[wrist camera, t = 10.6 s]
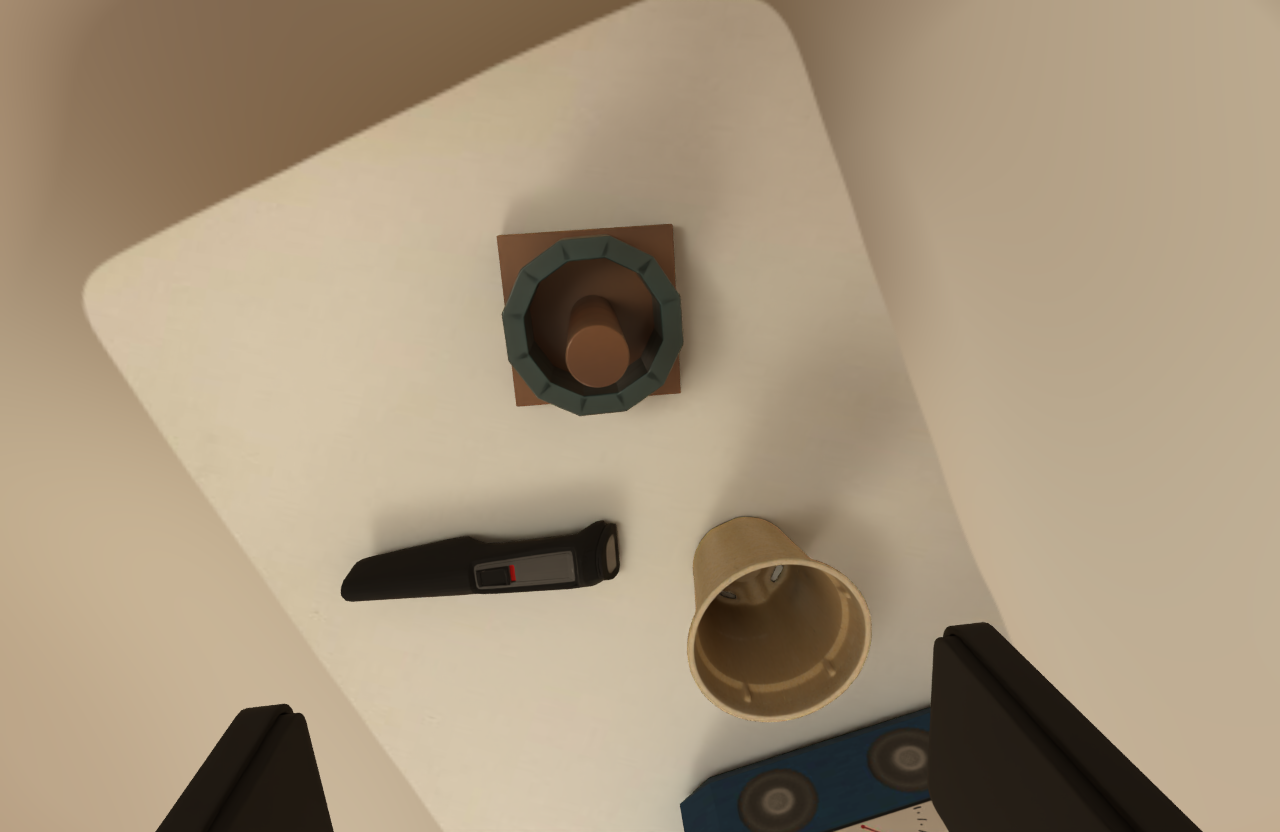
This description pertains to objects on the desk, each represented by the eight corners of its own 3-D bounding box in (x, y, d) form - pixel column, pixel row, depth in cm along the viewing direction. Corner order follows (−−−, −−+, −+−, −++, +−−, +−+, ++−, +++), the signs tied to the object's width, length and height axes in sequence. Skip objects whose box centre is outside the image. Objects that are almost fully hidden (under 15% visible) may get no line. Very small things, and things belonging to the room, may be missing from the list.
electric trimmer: (352, 538, 40) (332, 564, 37) (615, 514, 41) (617, 538, 38) (363, 595, 41) (345, 624, 38) (620, 570, 42) (622, 598, 39)
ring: (501, 243, 35) (491, 246, 31) (665, 228, 35) (675, 229, 32) (523, 402, 37) (517, 423, 33) (677, 386, 38) (688, 405, 34)
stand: (499, 235, 36) (459, 241, 24) (669, 223, 37) (712, 224, 25) (518, 400, 39) (491, 479, 27) (677, 387, 39) (719, 459, 27)
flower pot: (815, 621, 44) (870, 712, 36) (670, 636, 44) (691, 733, 35) (816, 485, 42) (875, 550, 33) (662, 499, 41) (683, 569, 33)
